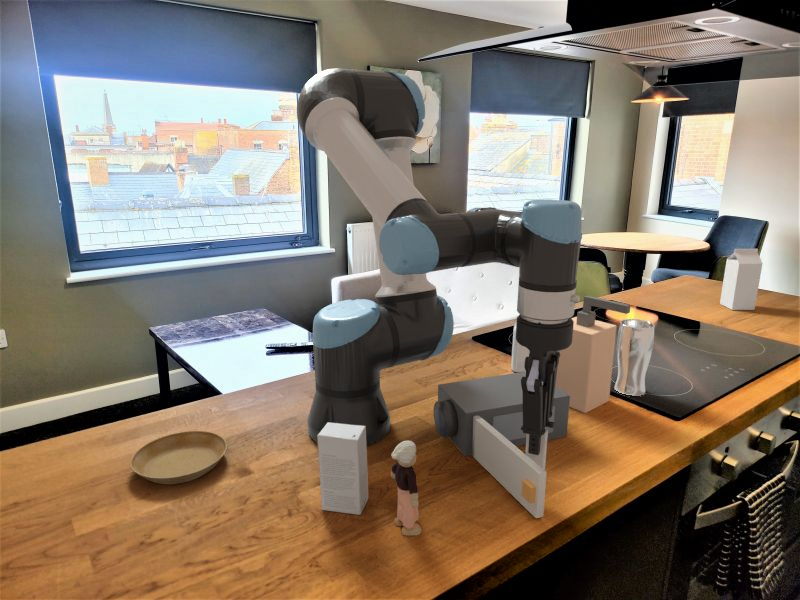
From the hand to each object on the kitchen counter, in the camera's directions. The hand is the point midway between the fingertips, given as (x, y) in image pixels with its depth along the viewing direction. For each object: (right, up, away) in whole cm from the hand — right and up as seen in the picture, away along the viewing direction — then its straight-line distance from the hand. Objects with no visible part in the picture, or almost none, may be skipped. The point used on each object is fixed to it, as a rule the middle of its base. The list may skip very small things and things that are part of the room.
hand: (534, 468), depth 82 cm
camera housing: (-3, +1, +20) cm, 20 cm away
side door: (-4, -3, +3) cm, 6 cm away
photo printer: (+11, +8, +48) cm, 50 cm away
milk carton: (+88, +22, +96) cm, 132 cm away
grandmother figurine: (-19, -6, -5) cm, 21 cm away
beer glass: (+29, +5, +36) cm, 47 cm away
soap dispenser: (+18, +4, +31) cm, 36 cm away
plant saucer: (-56, -3, +10) cm, 57 cm away
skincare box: (-28, -5, -1) cm, 28 cm away
